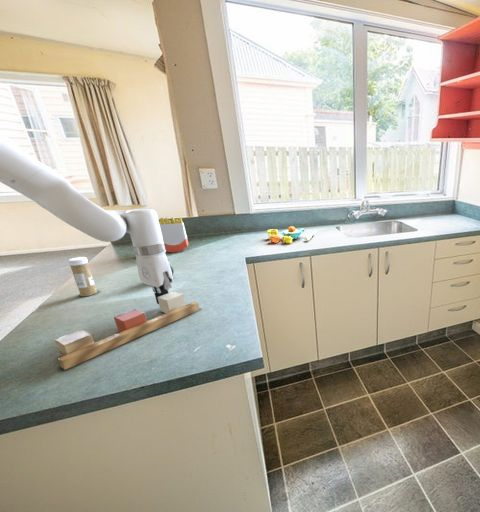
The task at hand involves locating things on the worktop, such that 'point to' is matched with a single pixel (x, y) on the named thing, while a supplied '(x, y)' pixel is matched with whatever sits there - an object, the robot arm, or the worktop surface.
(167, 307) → the cream block
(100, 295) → the worktop surface
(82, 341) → the maple block
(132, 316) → the terracotta block
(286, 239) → the toy juicer set
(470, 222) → the worktop surface
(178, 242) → the french fries container
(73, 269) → the sprinkles bottle
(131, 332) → the rail
